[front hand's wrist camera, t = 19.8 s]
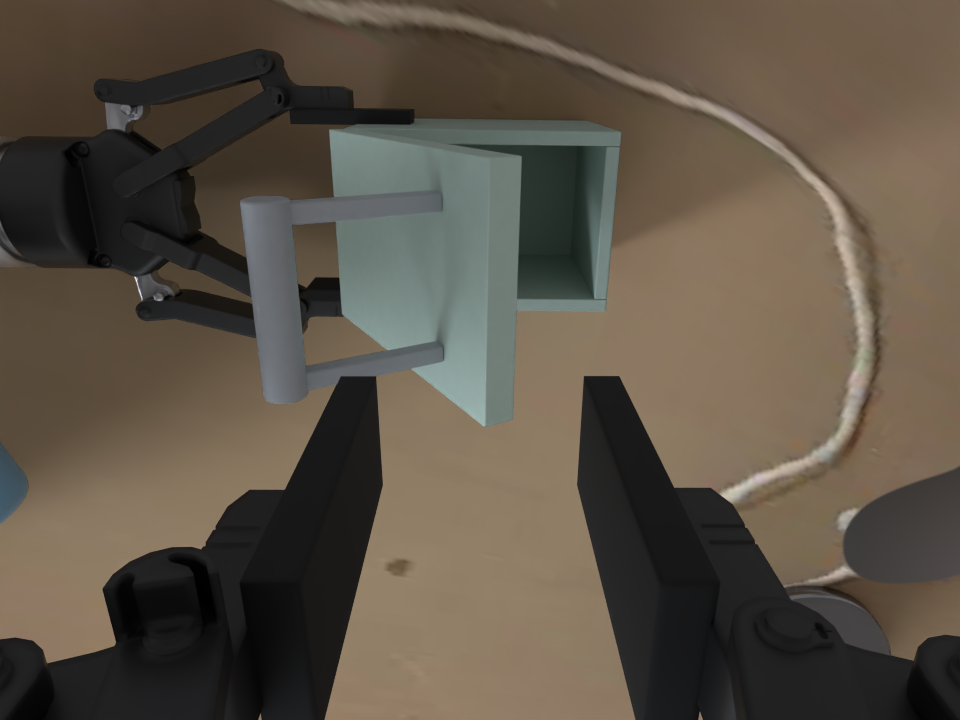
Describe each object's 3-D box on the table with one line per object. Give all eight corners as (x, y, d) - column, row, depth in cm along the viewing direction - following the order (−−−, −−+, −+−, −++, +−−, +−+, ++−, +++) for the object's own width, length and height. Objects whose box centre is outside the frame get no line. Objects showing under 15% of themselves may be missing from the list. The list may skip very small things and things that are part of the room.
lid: (522, 155, 21) (264, 168, 17) (513, 419, 25) (297, 479, 21) (353, 128, 33) (175, 132, 29) (363, 310, 36) (206, 336, 33)
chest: (588, 120, 43) (621, 131, 33) (578, 262, 47) (605, 311, 37) (375, 118, 43) (343, 128, 33) (381, 260, 47) (355, 308, 37)
